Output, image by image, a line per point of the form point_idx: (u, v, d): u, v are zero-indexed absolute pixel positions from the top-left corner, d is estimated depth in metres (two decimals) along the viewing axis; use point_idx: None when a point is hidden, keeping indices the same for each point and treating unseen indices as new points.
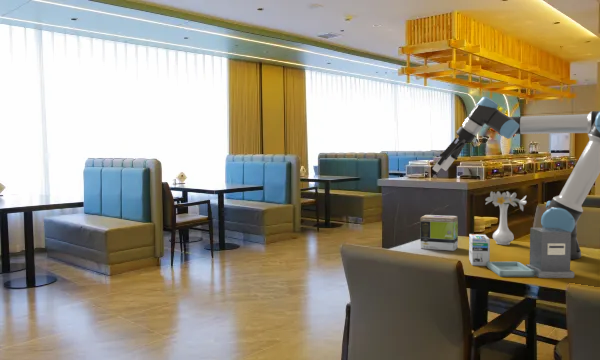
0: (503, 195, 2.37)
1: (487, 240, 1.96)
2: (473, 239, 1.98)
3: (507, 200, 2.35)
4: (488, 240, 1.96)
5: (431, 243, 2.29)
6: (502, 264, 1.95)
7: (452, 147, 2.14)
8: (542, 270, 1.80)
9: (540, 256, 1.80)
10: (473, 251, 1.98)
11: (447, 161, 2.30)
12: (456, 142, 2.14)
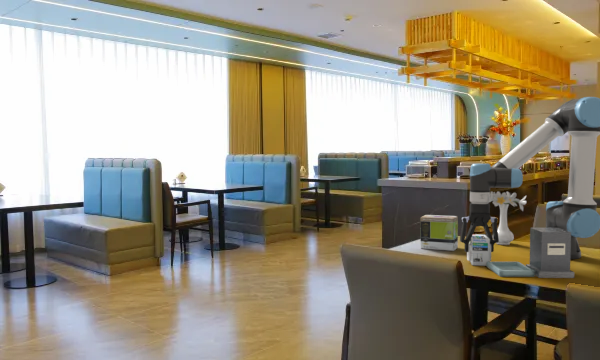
0: (503, 195, 2.37)
1: (487, 240, 1.96)
2: (473, 239, 1.97)
3: (507, 200, 2.35)
4: (488, 240, 1.96)
5: (431, 243, 2.29)
6: (502, 264, 1.95)
7: None
8: (542, 270, 1.80)
9: (540, 256, 1.80)
10: (473, 251, 1.98)
11: None
12: None
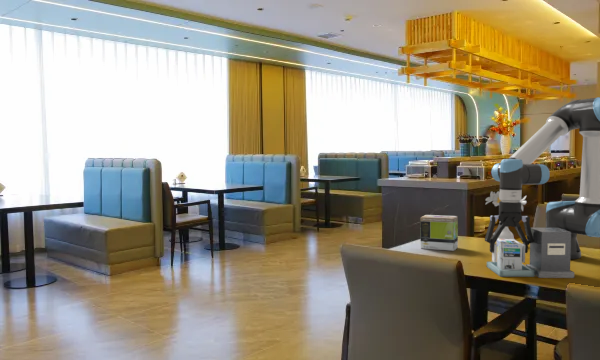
0: None
1: (519, 245, 1.82)
2: (504, 244, 1.83)
3: None
4: (520, 245, 1.82)
5: (431, 243, 2.29)
6: None
7: None
8: (542, 270, 1.80)
9: (540, 256, 1.80)
10: (504, 257, 1.83)
11: None
12: None
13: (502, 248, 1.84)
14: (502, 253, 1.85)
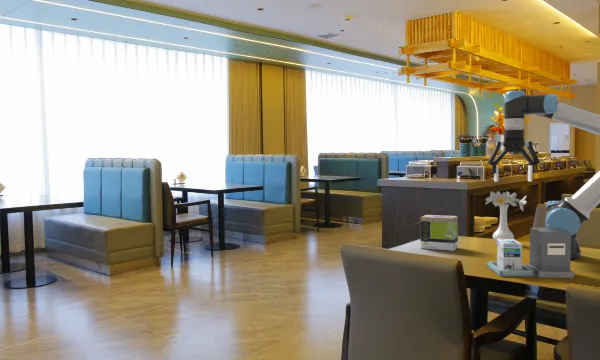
0: (503, 195, 2.37)
1: (519, 245, 1.82)
2: (504, 244, 1.83)
3: (507, 200, 2.35)
4: (520, 245, 1.82)
5: (431, 243, 2.29)
6: None
7: None
8: (542, 270, 1.80)
9: (540, 256, 1.80)
10: (504, 257, 1.83)
11: None
12: None
13: (502, 248, 1.84)
14: (502, 253, 1.85)
